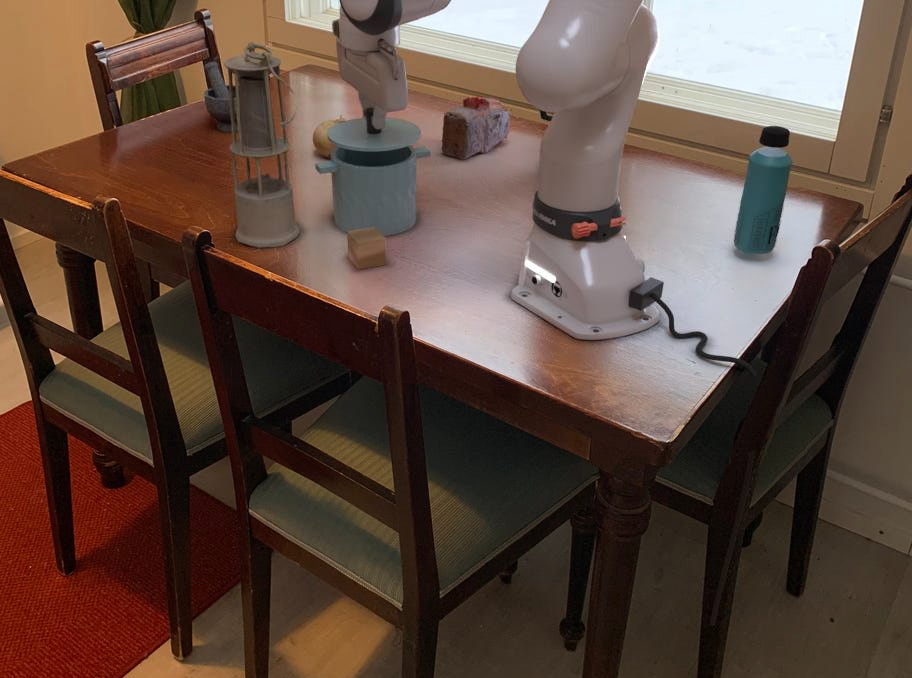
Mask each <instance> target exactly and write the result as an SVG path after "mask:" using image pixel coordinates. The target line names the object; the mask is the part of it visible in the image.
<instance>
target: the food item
mask: <svg viewBox="0 0 912 678" xmlns="http://www.w3.org/2000/svg"><path fill="white" fill-rule="evenodd" d="M462 102H463V103H462V106H459V107H458V108H454V109H452V110H448V111H446V112H444V113H443V122H442V123H443V125H442V134H441V148H440V149H441V153H442V154H444V155H446V156H450V157H452V158H453V157H454V158H458V159H459V160H461V161H464V160H466V159H467V158H470V157H472V156H474V155H476V154H478V153H481V154H486V153H489V151H491V150H492V148H494V147H496V146H497V145H498V144H502V143H503V141H504V140H505V139H507V138H508V137H509V134H510V127H511V125H510V124H511V122H510V117H511V113H510V111H509V110H508V109H507V108H506V106H505V104H503V102H502V101H500V100H498V99H495V98H493V97H482V98H479V96H477V97H475V96H472V97H469V96H467V98H465V99H462Z"/></svg>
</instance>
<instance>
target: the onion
mask: <svg viewBox="0 0 912 678" xmlns="http://www.w3.org/2000/svg"><path fill="white" fill-rule="evenodd" d="M344 121H347V119H346V118H345V117H343V114H341V115H339V118H338V119H328V120H324V121H322V122H321V123H319V124H318V125H317V127H316V128H315V129H314V131H313V133H312V144H313V147H314V148H315V150H316V151H317V152H318V153H319V154H320V155H321V156H323V157H325V158H328V159H331V156H330V154H331V152H332V150H333V148H334V147H336V145H334V144H333V143H331V142H330V141H329V139H328V131H329V129H330V128H331V127H333V126H334V125H336V124H338V123H341V122H344Z"/></svg>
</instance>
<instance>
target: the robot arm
mask: <svg viewBox="0 0 912 678" xmlns="http://www.w3.org/2000/svg"><path fill="white" fill-rule="evenodd" d="M338 1H339V18H337V19H334V20H332V21H331V30H332V34H333V36H335V37H336V38H335V49H336V57H337V58H336V59H337V65H338V71H339V74H340V78H341V79H342V80H343V81H344V82H345V83H347V84H348V85H349V86H351V87H352V88H353V89H355V90H356V91H357V95H358V99H359V103H360V107H361V109H362V112H361V113H362V118H363V119H364V120H366V109H367V108H371V107H373V108H374V112H373V116H371V120H372V126H373V127H374V128H375V129H383V128H385V126H386V124H385V117H387V114H388V113H394V112H400V111H405V110H406V109H407V108H408V103H409V94H408V93H409V92H408V81H407V72H406V71H407V69H406V65H405V61H404V59H403V58H402V57H401V56H400V55H399V54H398V53H397V47H398V46H400V44H401V32H400V30H401V29H400V27H401V26H402V25H405V24H409V23H412V22H415V21H418V20H420V19H423V18H426V17H429V16H432V15H434V14H437V13H439V12H441V11H442V10H445V9H446V8H447V7H448V6H449V5H450V3H451V2H452V0H338ZM644 1H645V0H548V2H547V4H546V7H545V9H544V11H543V14H542V15H541V17H540V20H539V21H538V24H537V25H536V26H535V29H534V30H533V31H532V33H531V34H530V36H528V38H527V40H526V41H524V43H523V44H522V46H521V48H520V50H519V52H518V54H517V57H516V61H515V78H516V82H517V86H518V88H519V90H520V93H521V94H522V96H523V97H524V99H525V100H526V101H527V102H528V103H529V104H530V105H531V106H533V107H534V108H536V109H538V110H539V111H540V110H542V111H545V112H546V113H553V115H552V116H553V117H552V120H551V121H549V123H548V126H547V127H546V129H545V130H544V133H543V135H542V138H541V142H540V151H539V164H538V166H539V167H538V180H537V181H538V182H537V183H538V184H537V190H536V191H535V192H534V196H533V201H532V221H533V222H534V223H533V225H532V228H531V231H530V233H529V235H528V236H527V239H526V240H525V242H524V244H523V245H524V246H523V250H522V257H521V263H520V269H519V276H518V282H517V284H516V285H515V286H514V287H513V288H512V289H511V293H510V299H511V300H512V301H514V302H515V303H517V304H519V305H521V306H522V307H524V308H526V309H527V310H529V311H530V312H531V313H533V314H535V315H537V316H539V317H540V318H542V319H543V320H545V321H547V322H548V323H550V324H551V325H553V326H554V327H556V328H558V329H559V330H561V331H562V332H564V333H566V334H567V335H569V336H570V337H572V338H573V339H576V340H583V341H584V340H585V341H598V340H609V339H614V338H620V337H621V338H622V337H624V336H625V337H626V336H629V335H632V334H636V333H640V332H643V331H645V330H647V329H649V328H651V327H653V326H655V325H656V324H657V323H658V322H659V321H660V320H661V313H660V311H659V310H658V308H657V307H656V306H655V305H654V303H656V304H657V305H659V307H660V308H661V309H663V311H664V312H665V314H666V315H667V318H668V330H669V333H670V334H671V335H672V336H673V337H674V338H676V339H679V340H680V339H681V340H682V339H689V338H695V337H699V338H701V340H700V341H699V342H697V344H696V346H695V352H696V354H697V355H698V356H699V357H701V358H703V359H706V360H711V361H716V362H726V363H732V364H736V365H739V366H741V367H743V368H744V369H745V370H746V371H747V372H748V373H749V375H750V376H752V377H756V378H757V377H758V373H757V372H756V370H755V369H754V368H753V366H752V365H750V364H749V363H748V362H747V361H745V360H744V359H741V358H738V357H733V356H728V355H719V354H717V355H716V354H711V353H707V352H705V351H704V350H702V348H703V347H704V346H705V344H707V342H708V336H707V334H706V333H704V332H703V331H700V330H699V331H698V330H697V331H689V332H683V333H680V332H677V330H676V329H675V317H674V314H673V312H672V310H671V309H670V307H669V306H668V305H667V304H666V302H664V301H663V300H662V295H663V290H664V285H665V281H662V280H660V279H657V278H655V277H648V278H647V279H646V277H645V274H644V273H645V270H646V266H645V261H644V259H642V258H636V256H635V254H634V252H633V251H632V249H631V246H630V245H629V242H628V240H627V239H626V235H624V233H623V231H622V229H623V226H624V225H627V223H626V222H623V221H624V220H627V216H622V206H621V201H620V197H619V195H618V193H619V185H620V178H621V170H622V162H623V153H624V148H625V143H626V140H627V137H628V136H627V135H628V132H629V129H630V126H631V121H632V118H633V116H634V113H635V109H636V106H637V103H638V100H639V96H640V93H641V91H642V86H643V83H644V80H645V78H646V74H647V72H648V70H649V68H650V66H651V64H652V62H653V61H654V58H655V56H656V55H657V53H658V51H659V46H660V39H661V33H660V27H659V24H658V23H659V22H658V21H657V18H656V17H655V15H654V14H653V12H652V11H651V9H650V8H648V7H647V6H645V4H643V2H644ZM755 454H756V449H754V450H750V451H749V452H748V458H747V464H746V469H745V475H744V479H743V485H742V490H741V493H740V494H741V495H740V499H739V503H738V508H737V512H736V515H735V519H734V524H733V528H732V532H731V535H730V539H729V542H728V547H727V551H726V554H725V558H724V562H723V565H722V566H723V567H722V570H721V574H720V579H719V582H718V587H717V590H716V595H715V599H714V604H713V607H712V612H711V617H710V622H709V625H710V626H713V627H714V626H715V625H716V621H717V616H718V612H719V608H720V604H721V603H720V602H721V599H722V596H723V595H722V594H723V590H724V586H725V583H726V579H727V574H728V570H729V567H730V563H731V559H732V556H733V552H734V548H735V544H736V541H737V536H738V532H739V529H740V524H741V521H742V517H743V513H744V509H745V505H746V500H747V495H748V491H749V486H750V482H751V476H752V471H753V466H754V461H755Z"/></svg>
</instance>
